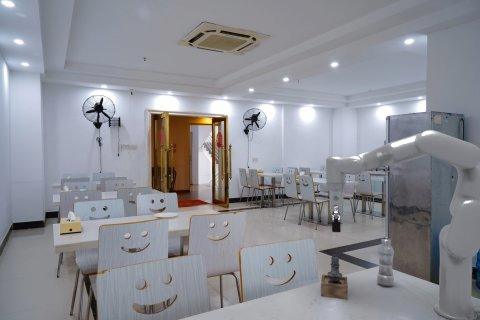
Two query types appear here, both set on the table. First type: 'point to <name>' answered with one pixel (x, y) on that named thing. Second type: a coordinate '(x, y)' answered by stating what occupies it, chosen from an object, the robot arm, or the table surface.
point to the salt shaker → (334, 271)
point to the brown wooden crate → (334, 288)
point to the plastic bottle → (385, 263)
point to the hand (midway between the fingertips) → (336, 229)
